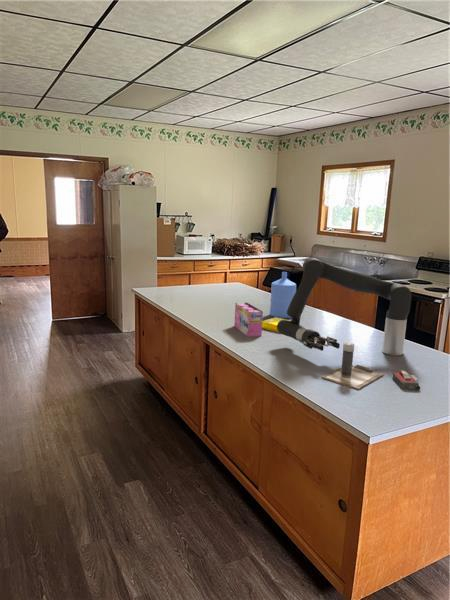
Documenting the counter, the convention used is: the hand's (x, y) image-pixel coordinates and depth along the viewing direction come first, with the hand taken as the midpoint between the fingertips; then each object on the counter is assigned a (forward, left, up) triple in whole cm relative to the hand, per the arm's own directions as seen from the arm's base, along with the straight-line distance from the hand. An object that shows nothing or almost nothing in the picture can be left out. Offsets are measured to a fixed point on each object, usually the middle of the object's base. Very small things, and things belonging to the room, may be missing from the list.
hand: (331, 347), depth 184 cm
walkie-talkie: (-11, +28, -10) cm, 32 cm away
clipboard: (+1, +11, -9) cm, 15 cm away
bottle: (+4, +10, -9) cm, 14 cm away
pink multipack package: (-19, -62, -10) cm, 65 cm away
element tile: (-37, -54, -10) cm, 66 cm away
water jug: (-63, -71, -10) cm, 95 cm away
